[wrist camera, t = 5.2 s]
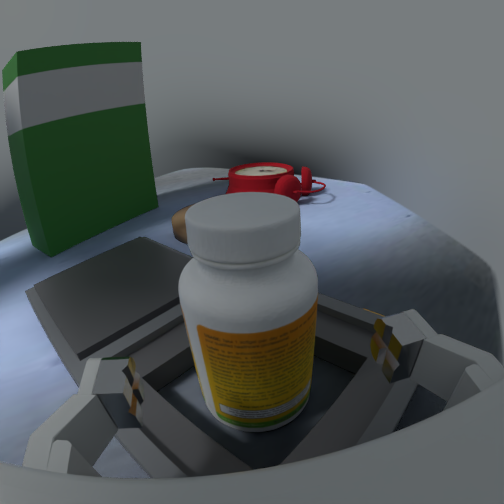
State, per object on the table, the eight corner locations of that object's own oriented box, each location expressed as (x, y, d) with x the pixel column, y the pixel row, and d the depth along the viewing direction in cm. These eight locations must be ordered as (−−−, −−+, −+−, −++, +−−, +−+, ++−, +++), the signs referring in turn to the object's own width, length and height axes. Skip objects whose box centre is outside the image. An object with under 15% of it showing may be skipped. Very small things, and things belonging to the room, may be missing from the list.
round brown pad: (155, 231, 36) (152, 219, 35) (223, 204, 43) (222, 193, 42) (220, 256, 29) (218, 241, 29) (290, 219, 36) (290, 207, 36)
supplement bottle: (332, 393, 15) (353, 206, 10) (246, 455, 12) (217, 257, 8) (264, 343, 19) (255, 179, 14) (185, 385, 16) (142, 209, 12)
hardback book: (129, 202, 48) (111, 55, 38) (158, 206, 45) (140, 42, 34) (32, 245, 35) (2, 70, 25) (51, 257, 32) (16, 51, 21)
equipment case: (28, 298, 24) (20, 279, 23) (150, 241, 33) (147, 224, 33) (277, 579, 6) (277, 576, 6) (431, 355, 16) (440, 329, 15)
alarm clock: (242, 162, 52) (328, 146, 43) (252, 198, 54) (337, 188, 45) (202, 177, 44) (299, 157, 35) (214, 219, 46) (311, 209, 37)
